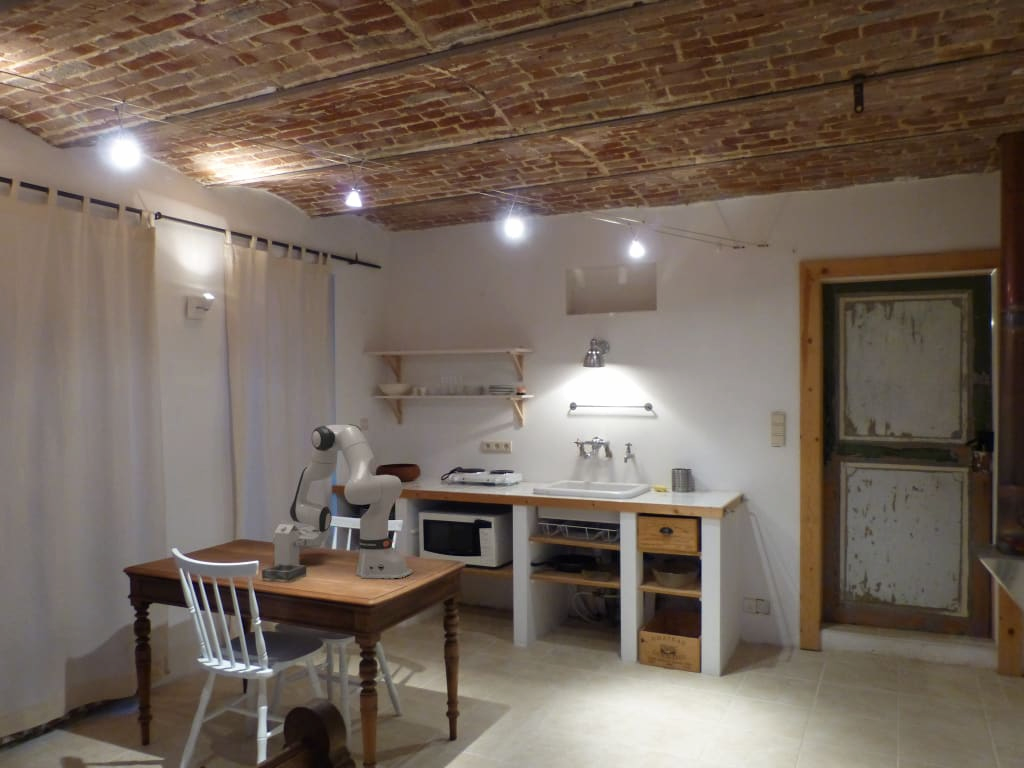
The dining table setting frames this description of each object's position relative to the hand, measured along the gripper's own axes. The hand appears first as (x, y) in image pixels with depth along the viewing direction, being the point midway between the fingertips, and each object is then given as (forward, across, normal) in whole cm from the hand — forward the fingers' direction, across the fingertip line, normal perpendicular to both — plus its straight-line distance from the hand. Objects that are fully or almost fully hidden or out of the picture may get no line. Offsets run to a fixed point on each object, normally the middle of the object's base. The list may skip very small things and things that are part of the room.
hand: (285, 543), depth 317 cm
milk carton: (-1, 0, +10) cm, 10 cm away
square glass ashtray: (+16, +10, +10) cm, 21 cm away
